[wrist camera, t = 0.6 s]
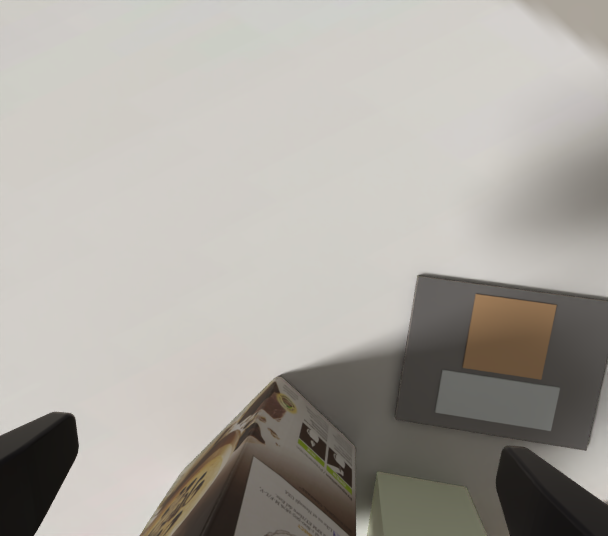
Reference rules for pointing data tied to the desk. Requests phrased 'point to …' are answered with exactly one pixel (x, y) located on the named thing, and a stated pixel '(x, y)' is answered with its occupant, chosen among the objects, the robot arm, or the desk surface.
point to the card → (504, 361)
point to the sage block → (421, 508)
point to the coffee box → (266, 476)
